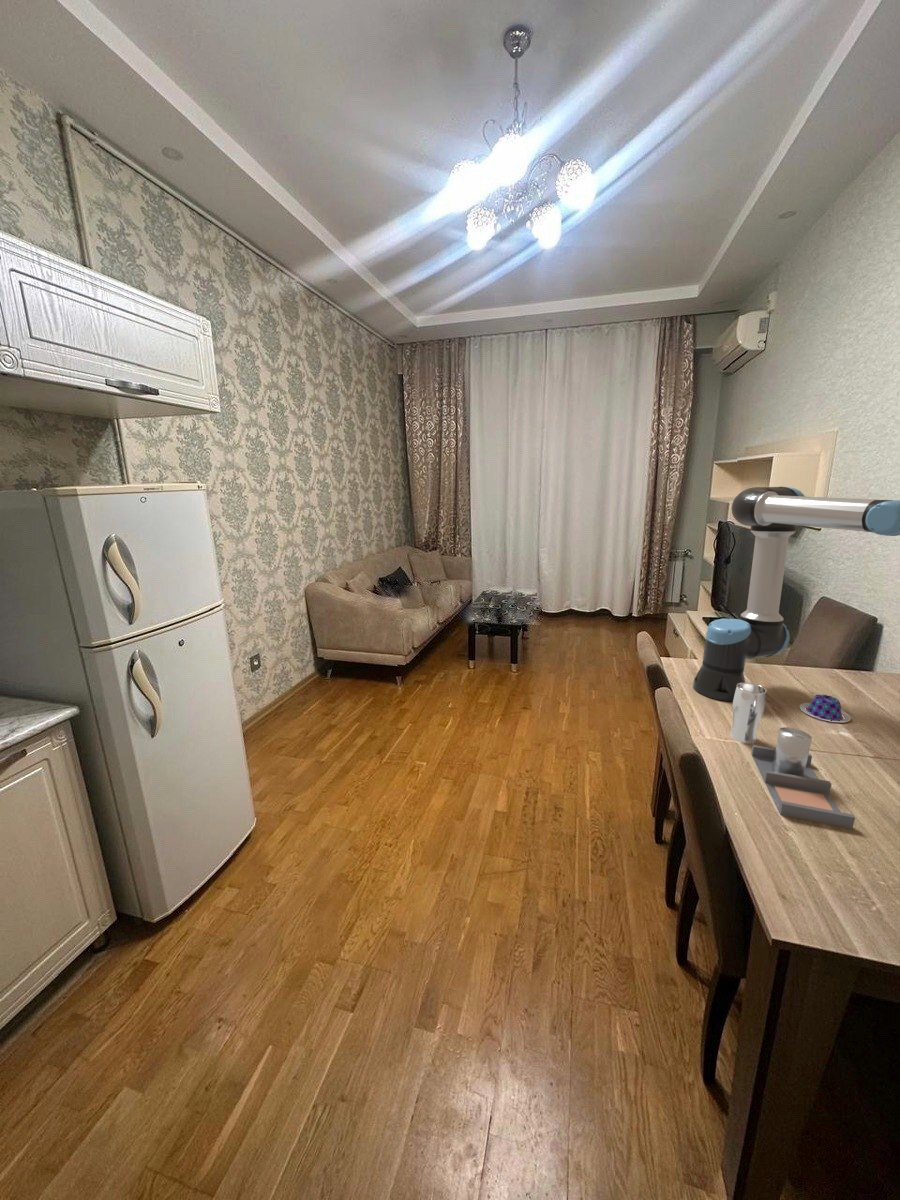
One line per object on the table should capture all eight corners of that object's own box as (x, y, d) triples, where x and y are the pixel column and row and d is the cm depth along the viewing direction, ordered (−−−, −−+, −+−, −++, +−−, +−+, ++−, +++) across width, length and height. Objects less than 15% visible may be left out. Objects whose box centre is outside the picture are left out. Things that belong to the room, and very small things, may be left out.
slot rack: (750, 756, 116) (752, 744, 115) (808, 766, 112) (810, 754, 111) (779, 817, 95) (782, 803, 94) (851, 832, 91) (855, 817, 90)
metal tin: (765, 768, 110) (773, 730, 107) (783, 762, 112) (791, 725, 109) (791, 783, 104) (800, 743, 102) (809, 777, 106) (818, 738, 104)
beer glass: (721, 736, 125) (729, 684, 121) (738, 730, 128) (747, 680, 124) (746, 749, 119) (755, 695, 115) (764, 743, 122) (773, 690, 118)
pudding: (860, 726, 131) (864, 709, 129) (813, 722, 133) (816, 706, 131) (834, 706, 142) (837, 690, 141) (790, 703, 144) (793, 688, 143)
